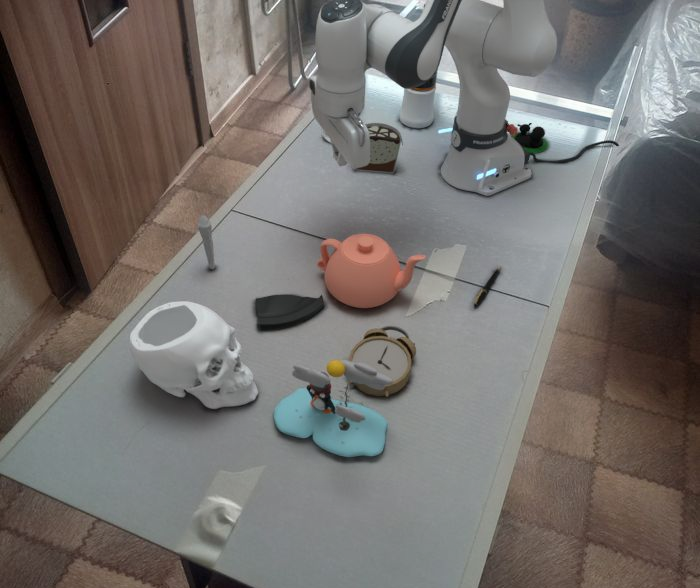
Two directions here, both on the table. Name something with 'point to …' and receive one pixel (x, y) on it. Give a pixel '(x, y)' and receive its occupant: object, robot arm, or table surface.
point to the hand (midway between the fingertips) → (340, 161)
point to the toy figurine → (531, 138)
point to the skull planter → (192, 354)
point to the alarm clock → (385, 358)
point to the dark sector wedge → (285, 310)
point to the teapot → (364, 270)
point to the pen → (207, 239)
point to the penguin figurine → (334, 411)
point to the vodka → (419, 104)
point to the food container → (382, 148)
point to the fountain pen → (486, 288)
